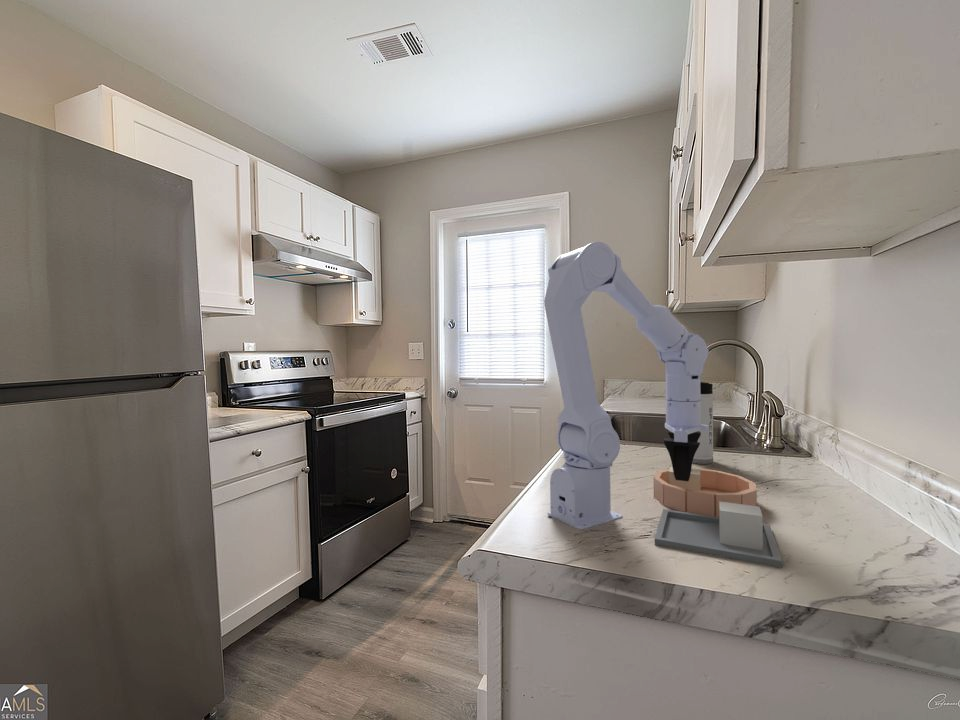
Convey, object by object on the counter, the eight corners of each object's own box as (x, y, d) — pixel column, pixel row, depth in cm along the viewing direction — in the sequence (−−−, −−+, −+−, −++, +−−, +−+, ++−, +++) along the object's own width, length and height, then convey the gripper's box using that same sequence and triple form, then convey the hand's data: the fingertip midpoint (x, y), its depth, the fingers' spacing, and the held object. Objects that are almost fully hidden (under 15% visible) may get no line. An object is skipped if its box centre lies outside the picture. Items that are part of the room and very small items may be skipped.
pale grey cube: (719, 543, 60) (719, 510, 60) (719, 532, 64) (719, 501, 64) (762, 550, 58) (762, 516, 58) (759, 538, 61) (759, 506, 61)
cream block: (669, 496, 78) (669, 471, 78) (670, 490, 82) (670, 466, 82) (700, 501, 76) (700, 474, 76) (700, 494, 79) (700, 469, 79)
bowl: (720, 527, 67) (720, 501, 66) (636, 497, 80) (635, 476, 80) (775, 507, 75) (775, 484, 74) (689, 483, 88) (689, 464, 88)
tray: (781, 570, 53) (781, 561, 53) (654, 547, 60) (654, 538, 60) (769, 532, 64) (769, 524, 64) (663, 516, 71) (663, 508, 71)
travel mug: (679, 457, 110) (679, 378, 109) (707, 458, 109) (707, 378, 108) (688, 464, 103) (687, 380, 103) (717, 464, 102) (717, 380, 102)
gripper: (707, 405, 70) (707, 488, 71) (707, 396, 83) (708, 467, 83) (660, 403, 74) (661, 483, 74) (667, 395, 86) (668, 463, 87)
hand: (683, 474), depth 79 cm, fingers open, 7 cm apart
